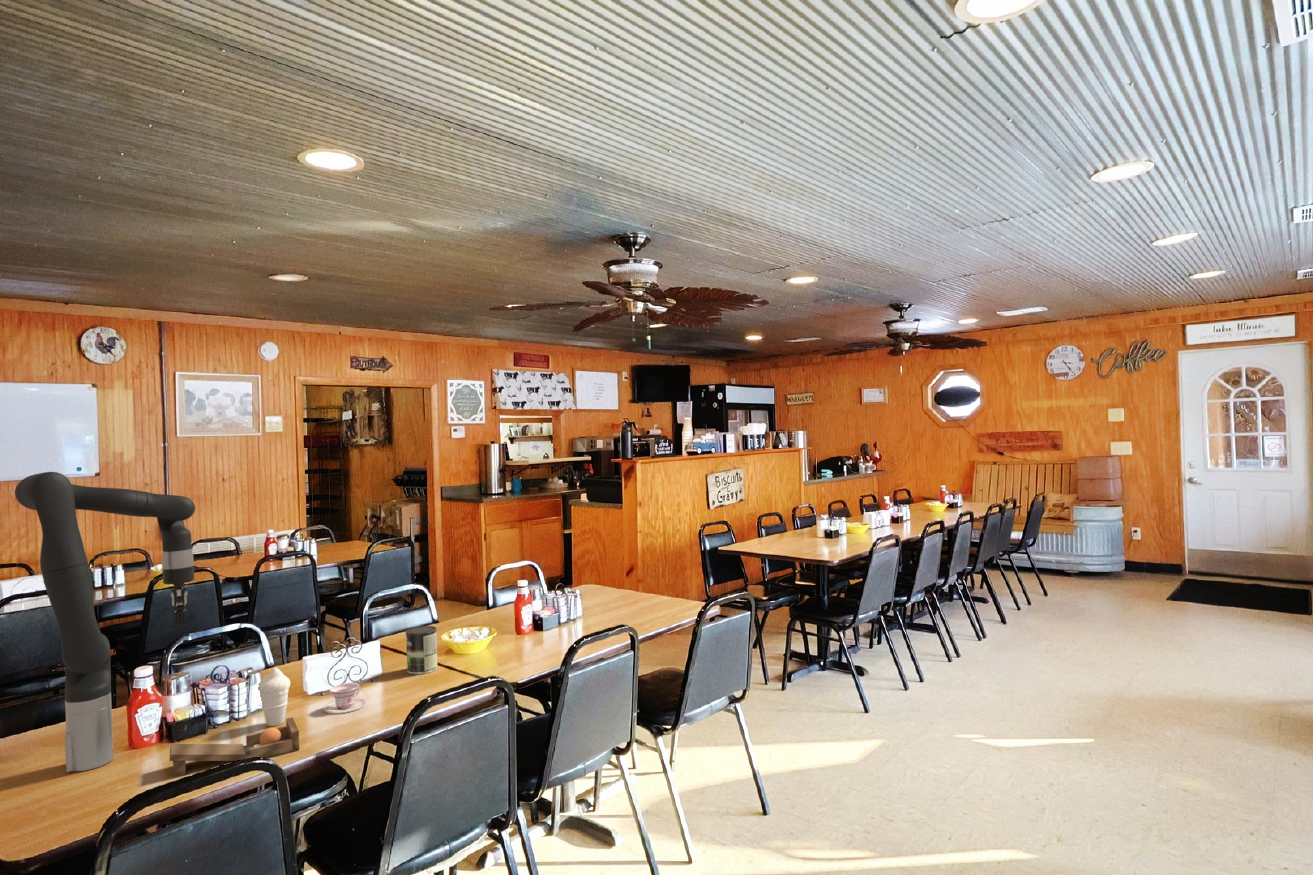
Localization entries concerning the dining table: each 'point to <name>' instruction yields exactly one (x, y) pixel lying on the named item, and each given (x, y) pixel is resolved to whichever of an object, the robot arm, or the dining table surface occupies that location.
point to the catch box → (285, 745)
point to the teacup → (344, 698)
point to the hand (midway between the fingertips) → (180, 622)
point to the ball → (270, 736)
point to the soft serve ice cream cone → (274, 696)
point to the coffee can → (421, 650)
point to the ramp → (203, 754)
